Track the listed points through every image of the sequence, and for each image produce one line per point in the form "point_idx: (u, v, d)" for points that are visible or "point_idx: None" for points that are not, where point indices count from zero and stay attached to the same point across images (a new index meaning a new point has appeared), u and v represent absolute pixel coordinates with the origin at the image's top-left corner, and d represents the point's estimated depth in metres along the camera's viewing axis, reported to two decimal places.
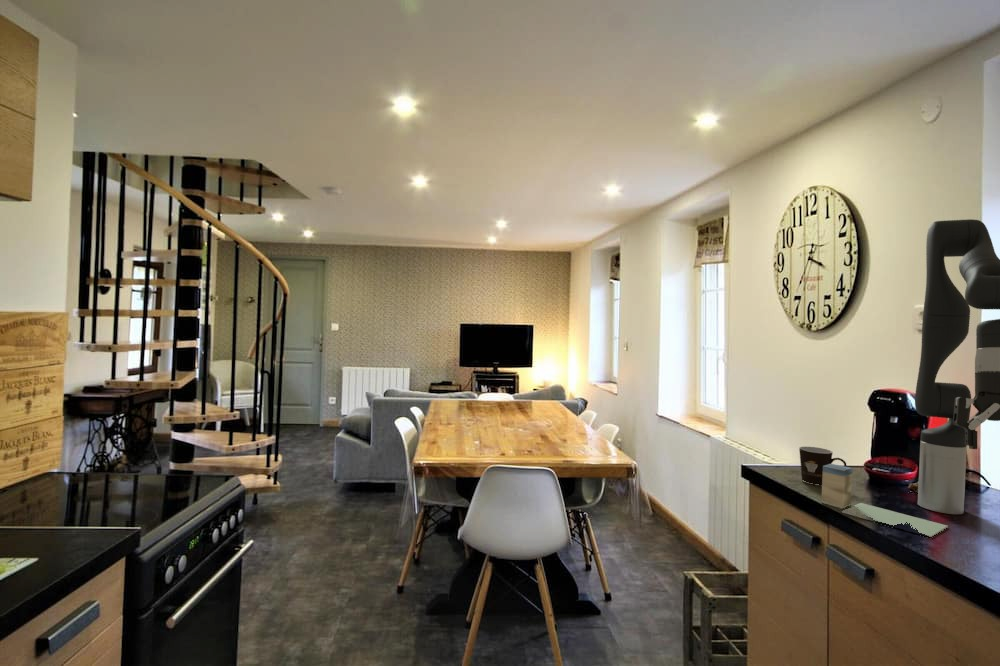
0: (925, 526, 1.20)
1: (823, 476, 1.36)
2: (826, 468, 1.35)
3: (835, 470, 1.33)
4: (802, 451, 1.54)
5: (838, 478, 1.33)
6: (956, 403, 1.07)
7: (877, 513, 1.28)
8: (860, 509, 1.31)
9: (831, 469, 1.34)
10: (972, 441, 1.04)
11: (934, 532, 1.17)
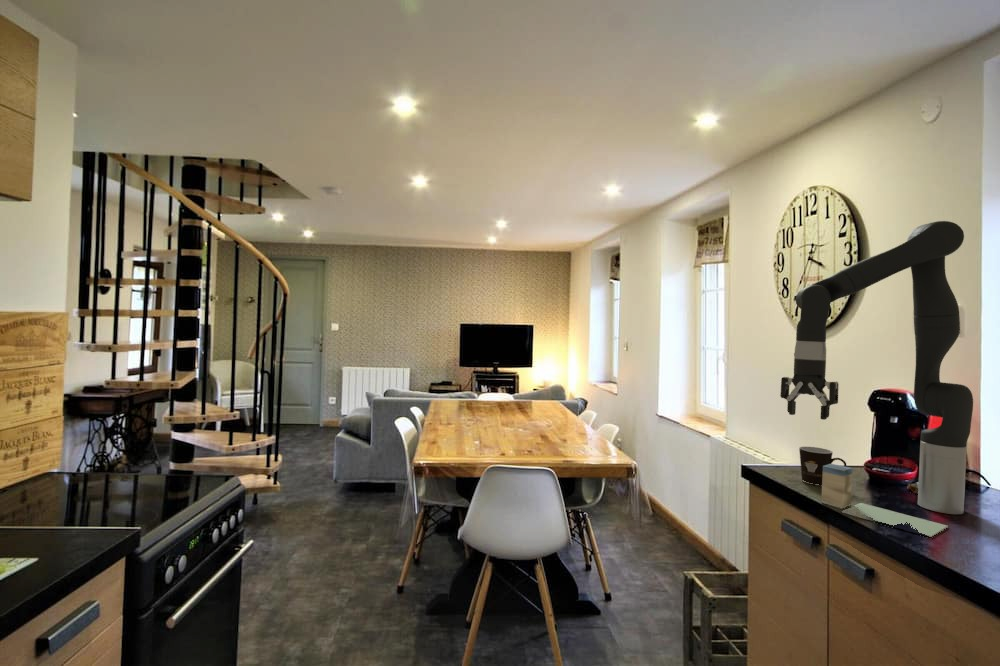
0: (925, 526, 1.20)
1: (823, 476, 1.36)
2: (826, 468, 1.35)
3: (835, 470, 1.33)
4: (802, 451, 1.54)
5: (838, 478, 1.33)
6: None
7: (877, 513, 1.28)
8: (860, 509, 1.31)
9: (831, 469, 1.34)
10: (789, 409, 1.45)
11: (934, 532, 1.17)
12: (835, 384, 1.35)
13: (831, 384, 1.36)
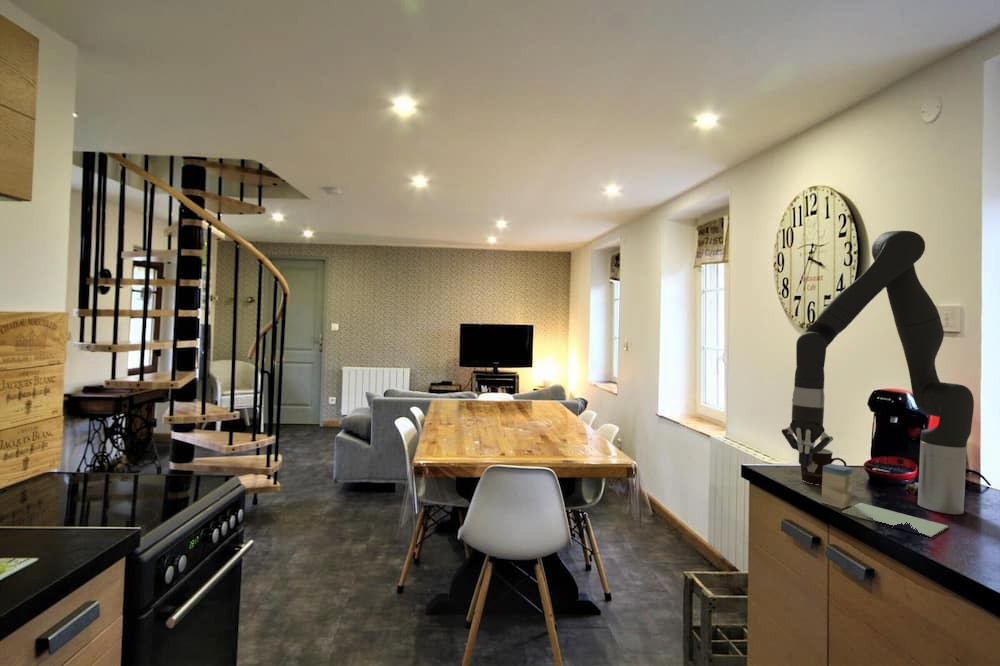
0: (925, 526, 1.20)
1: (823, 476, 1.36)
2: (826, 468, 1.35)
3: (835, 470, 1.33)
4: None
5: (838, 478, 1.33)
6: None
7: (877, 513, 1.28)
8: (860, 509, 1.31)
9: (831, 469, 1.34)
10: (801, 460, 1.42)
11: (934, 532, 1.17)
12: (829, 440, 1.36)
13: (826, 439, 1.36)
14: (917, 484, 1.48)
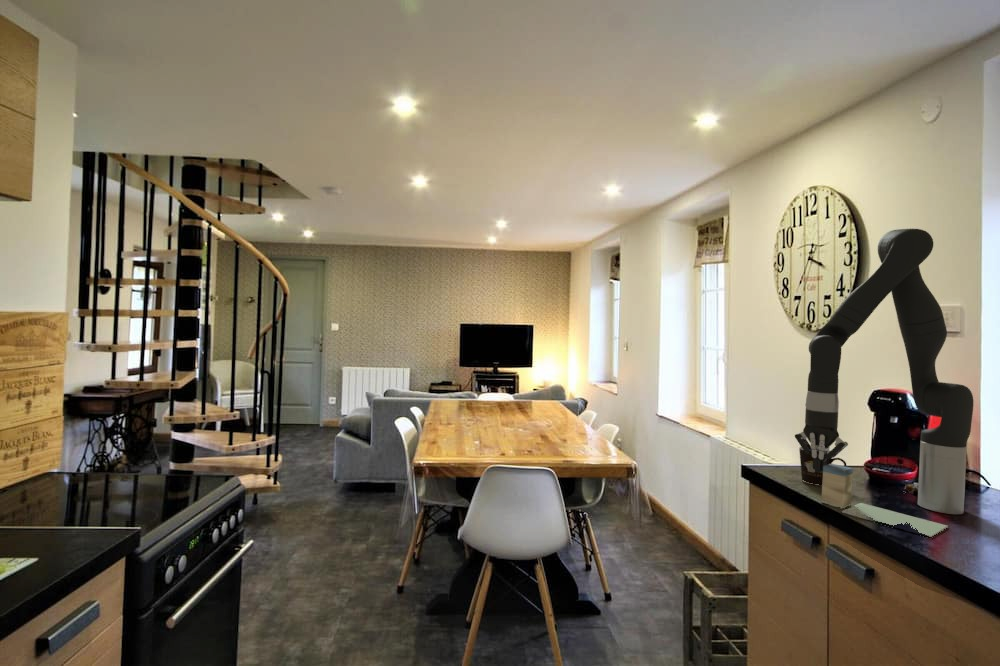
0: (925, 526, 1.20)
1: (823, 476, 1.36)
2: (826, 468, 1.35)
3: (835, 470, 1.33)
4: (802, 451, 1.54)
5: (838, 478, 1.33)
6: None
7: (877, 513, 1.28)
8: (860, 509, 1.31)
9: (831, 469, 1.34)
10: (815, 466, 1.39)
11: (934, 532, 1.17)
12: (844, 446, 1.34)
13: (840, 444, 1.34)
14: (916, 484, 1.48)
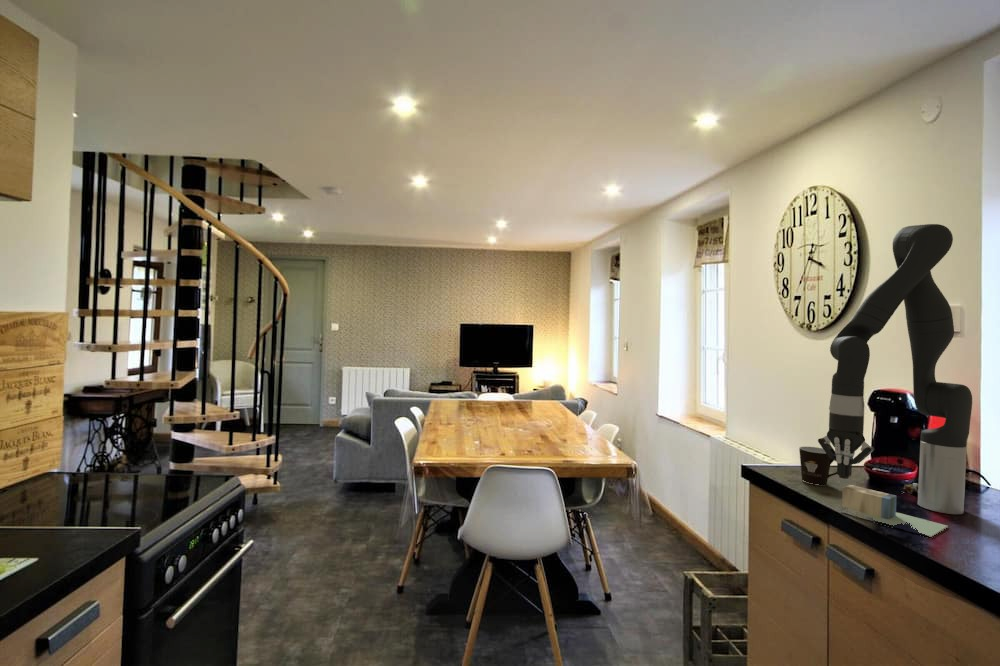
0: (925, 526, 1.20)
1: (875, 496, 1.26)
2: (886, 502, 1.24)
3: (886, 510, 1.24)
4: (802, 451, 1.54)
5: (877, 511, 1.26)
6: None
7: None
8: None
9: (886, 507, 1.24)
10: (839, 472, 1.34)
11: (934, 532, 1.17)
12: (870, 451, 1.29)
13: (867, 449, 1.29)
14: (915, 484, 1.48)
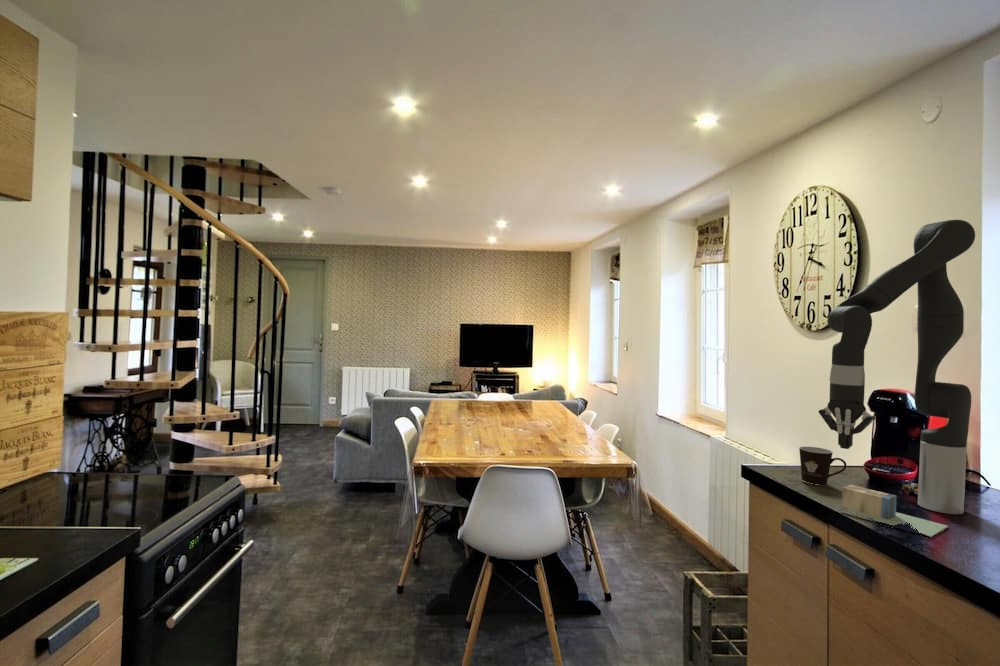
0: (925, 526, 1.20)
1: (875, 496, 1.26)
2: (886, 502, 1.24)
3: (886, 510, 1.24)
4: (802, 451, 1.54)
5: (877, 511, 1.26)
6: None
7: None
8: None
9: (886, 507, 1.24)
10: (840, 442, 1.34)
11: (934, 532, 1.17)
12: (871, 420, 1.29)
13: (867, 418, 1.29)
14: (913, 484, 1.48)
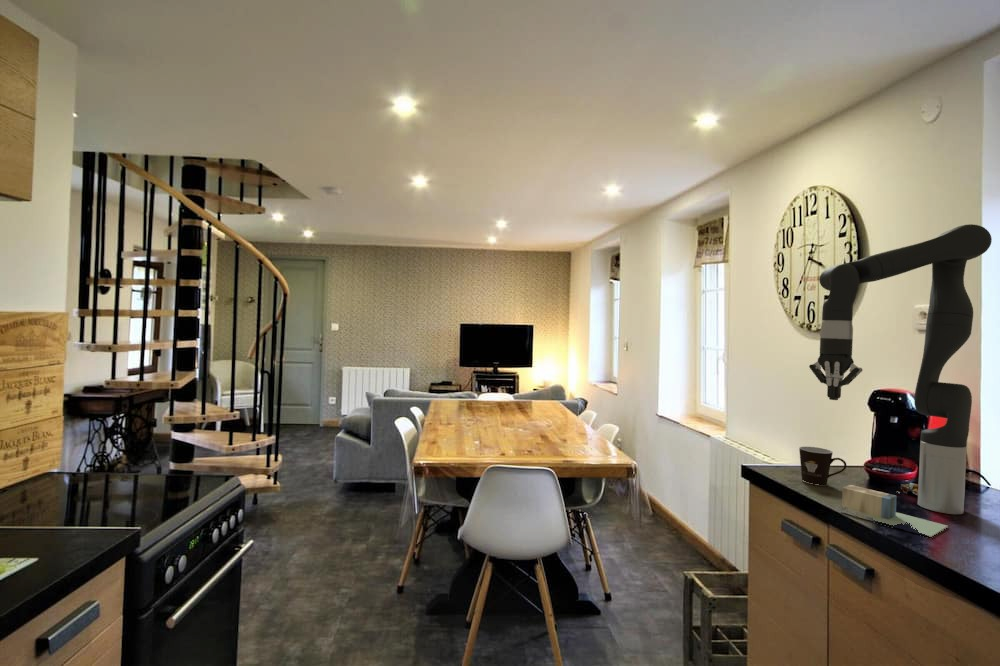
0: (925, 526, 1.20)
1: (875, 496, 1.26)
2: (886, 502, 1.24)
3: (886, 510, 1.24)
4: (802, 451, 1.54)
5: (877, 511, 1.26)
6: None
7: None
8: None
9: (886, 507, 1.24)
10: (829, 394, 1.42)
11: (934, 532, 1.17)
12: (858, 371, 1.36)
13: (855, 370, 1.36)
14: (912, 484, 1.47)
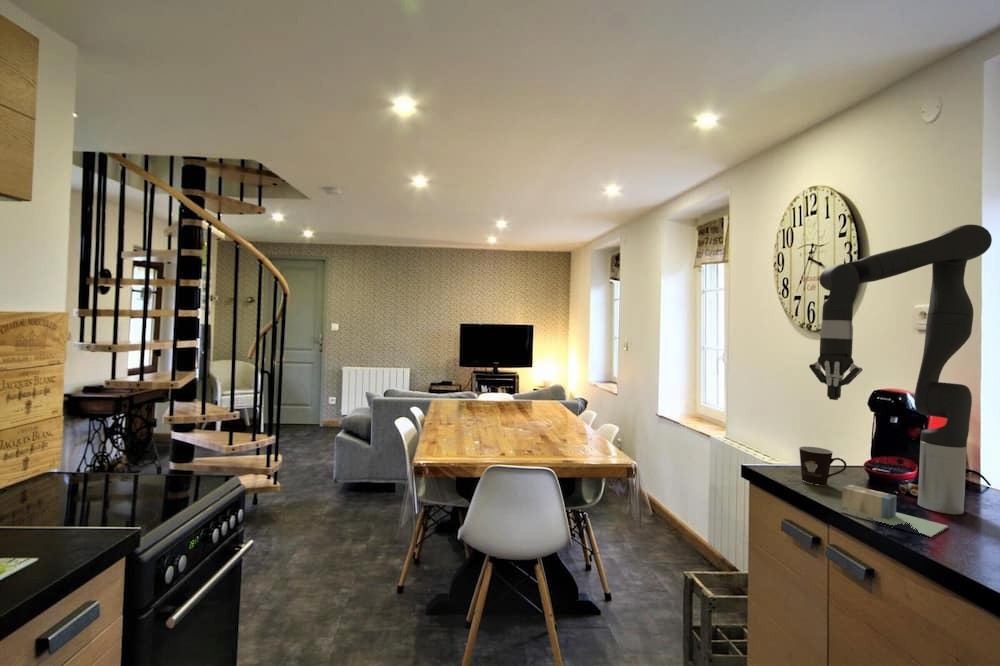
0: (925, 526, 1.20)
1: (875, 496, 1.26)
2: (886, 502, 1.24)
3: (886, 510, 1.24)
4: (802, 451, 1.54)
5: (877, 511, 1.26)
6: None
7: None
8: None
9: (886, 507, 1.24)
10: (829, 394, 1.42)
11: (934, 532, 1.17)
12: (858, 371, 1.36)
13: (855, 369, 1.36)
14: (910, 485, 1.47)
